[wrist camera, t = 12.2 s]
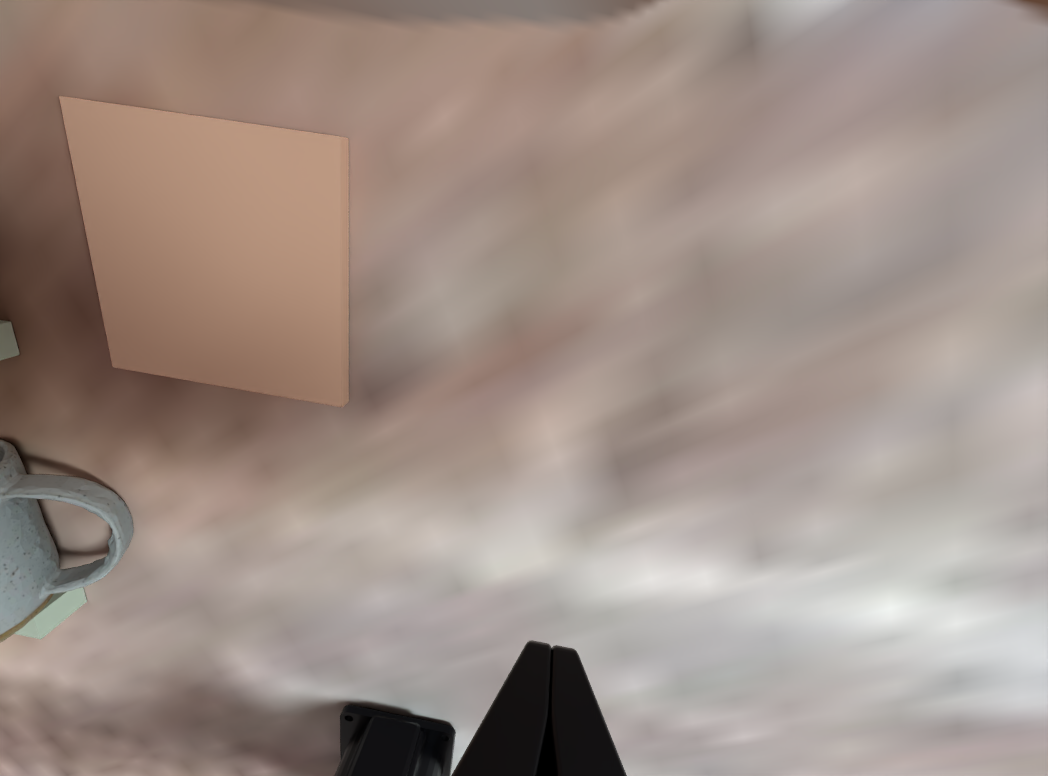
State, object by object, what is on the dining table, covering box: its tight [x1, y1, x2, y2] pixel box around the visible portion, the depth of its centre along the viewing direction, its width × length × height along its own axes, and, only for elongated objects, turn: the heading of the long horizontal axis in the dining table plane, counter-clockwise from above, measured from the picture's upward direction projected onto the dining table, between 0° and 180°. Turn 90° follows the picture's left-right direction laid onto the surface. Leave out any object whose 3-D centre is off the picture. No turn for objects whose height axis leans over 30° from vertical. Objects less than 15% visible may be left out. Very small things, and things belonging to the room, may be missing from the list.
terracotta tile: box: [59, 96, 349, 407], centre depth 19 cm, size 10×10×1 cm
